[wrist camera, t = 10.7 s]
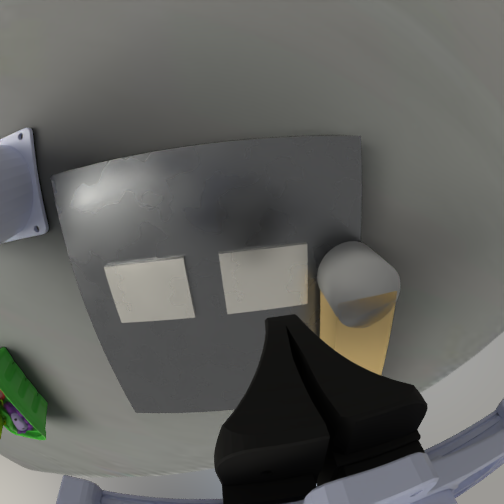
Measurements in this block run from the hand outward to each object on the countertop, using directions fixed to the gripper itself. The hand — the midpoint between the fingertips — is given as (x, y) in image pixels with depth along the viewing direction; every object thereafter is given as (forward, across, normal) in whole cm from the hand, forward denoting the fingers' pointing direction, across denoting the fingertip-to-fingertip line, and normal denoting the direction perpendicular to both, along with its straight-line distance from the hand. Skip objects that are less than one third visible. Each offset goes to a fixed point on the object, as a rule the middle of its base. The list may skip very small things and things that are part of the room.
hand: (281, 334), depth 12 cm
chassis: (+8, +3, +2) cm, 9 cm away
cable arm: (+5, -5, +7) cm, 10 cm away
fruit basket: (+9, +30, +12) cm, 33 cm away
